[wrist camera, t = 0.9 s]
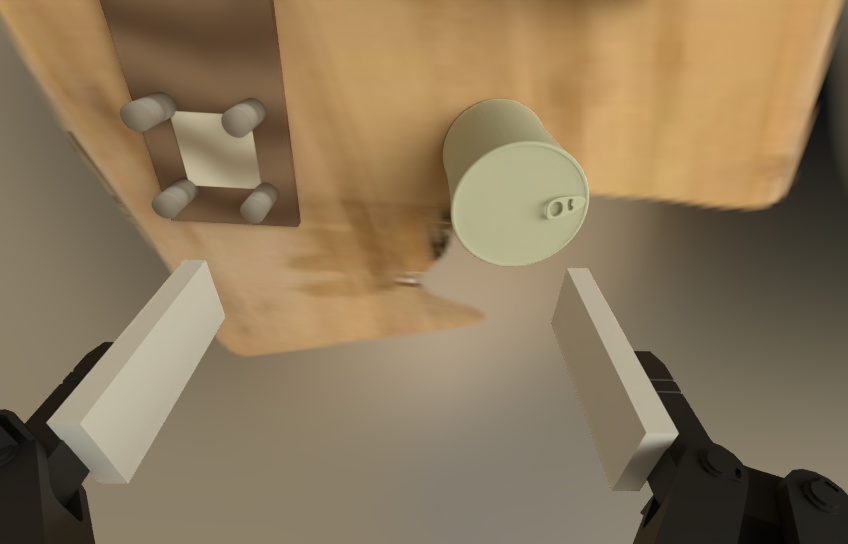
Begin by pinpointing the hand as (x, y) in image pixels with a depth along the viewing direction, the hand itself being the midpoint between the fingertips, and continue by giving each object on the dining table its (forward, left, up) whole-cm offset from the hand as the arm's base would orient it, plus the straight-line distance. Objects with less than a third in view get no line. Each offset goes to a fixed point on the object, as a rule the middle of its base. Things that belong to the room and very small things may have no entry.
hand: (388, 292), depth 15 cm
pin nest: (0, -16, -24) cm, 29 cm away
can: (+2, +8, -24) cm, 25 cm away
